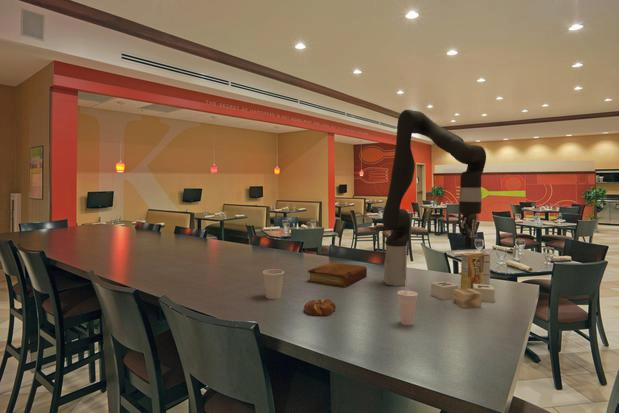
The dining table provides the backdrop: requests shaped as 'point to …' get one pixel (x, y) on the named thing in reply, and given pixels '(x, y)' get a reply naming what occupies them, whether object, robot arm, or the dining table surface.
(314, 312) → the brown braided bread bun
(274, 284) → the dixie cup
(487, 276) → the syrup box
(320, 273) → the diary
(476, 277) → the candy box
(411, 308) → the smoothie
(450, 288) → the marked block
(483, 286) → the marked block
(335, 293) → the dining table surface
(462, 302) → the plain block
